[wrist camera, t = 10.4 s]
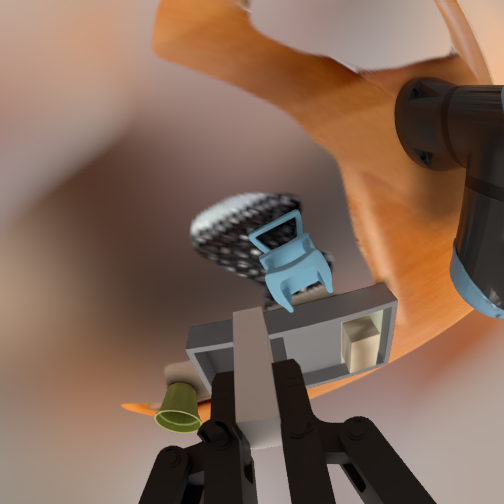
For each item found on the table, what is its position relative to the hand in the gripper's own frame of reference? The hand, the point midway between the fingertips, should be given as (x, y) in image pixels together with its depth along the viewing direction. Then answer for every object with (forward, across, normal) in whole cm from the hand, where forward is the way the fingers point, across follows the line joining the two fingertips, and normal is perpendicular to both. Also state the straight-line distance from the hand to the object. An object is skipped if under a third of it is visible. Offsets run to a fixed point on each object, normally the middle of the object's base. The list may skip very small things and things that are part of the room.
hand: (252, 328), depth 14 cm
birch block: (+22, +15, -26) cm, 37 cm away
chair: (+25, +5, -7) cm, 26 cm away
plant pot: (+25, -21, -35) cm, 48 cm away
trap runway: (+24, +4, -26) cm, 36 cm away
